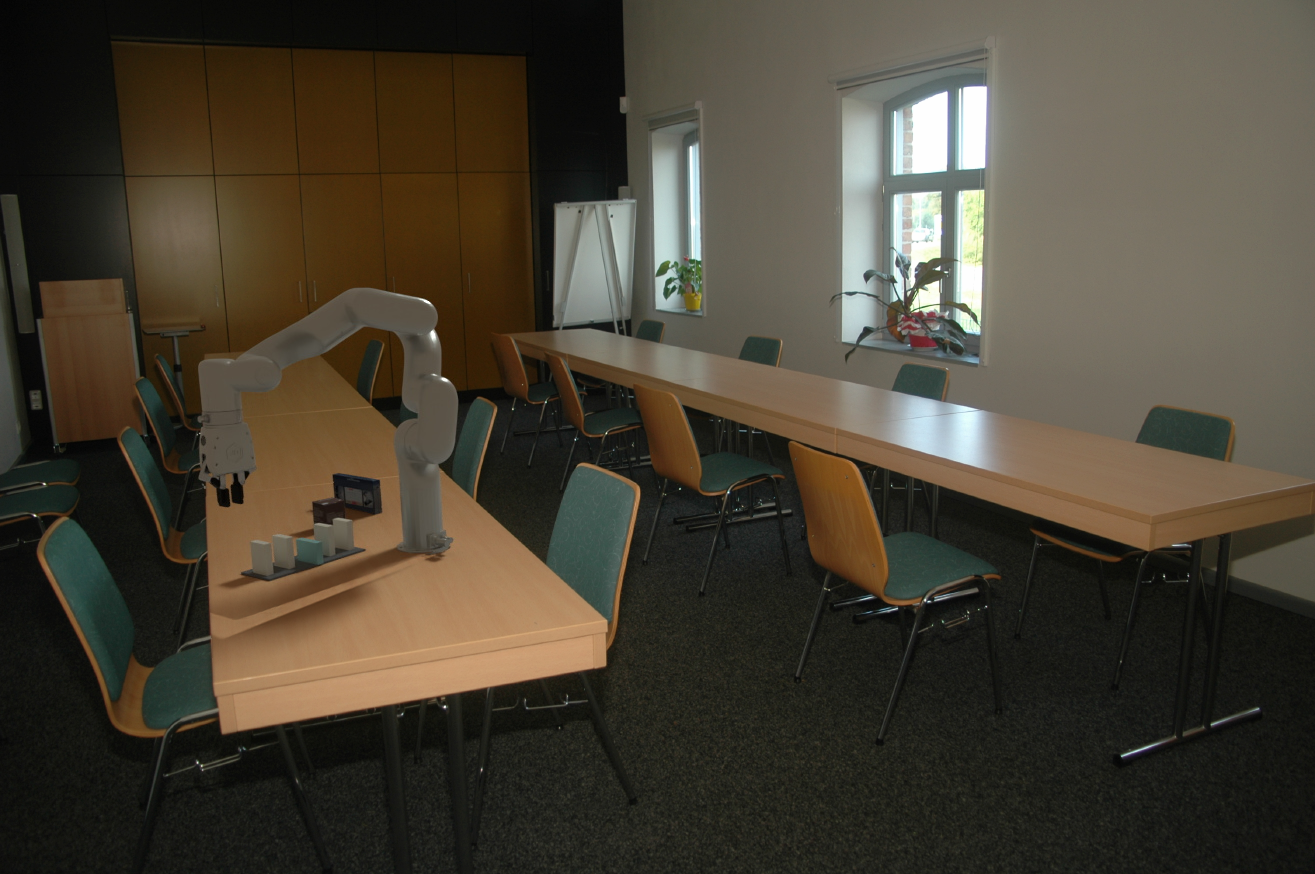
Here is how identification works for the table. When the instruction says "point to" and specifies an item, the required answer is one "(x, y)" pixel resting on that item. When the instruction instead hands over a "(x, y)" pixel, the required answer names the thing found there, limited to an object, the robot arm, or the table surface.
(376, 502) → the vhs cassette tape
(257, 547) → the domino
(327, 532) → the domino
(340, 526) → the domino
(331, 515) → the box
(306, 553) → the teal domino
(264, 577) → the mat
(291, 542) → the domino
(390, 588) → the table surface
